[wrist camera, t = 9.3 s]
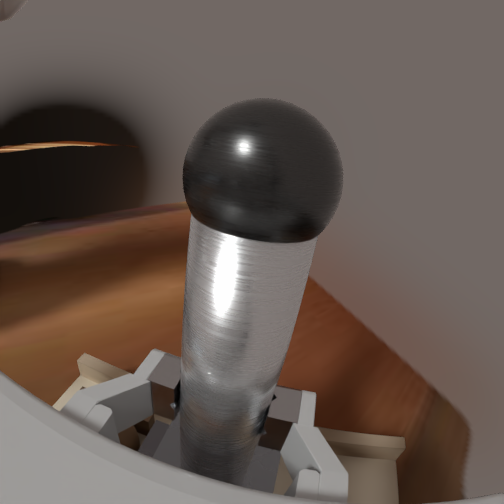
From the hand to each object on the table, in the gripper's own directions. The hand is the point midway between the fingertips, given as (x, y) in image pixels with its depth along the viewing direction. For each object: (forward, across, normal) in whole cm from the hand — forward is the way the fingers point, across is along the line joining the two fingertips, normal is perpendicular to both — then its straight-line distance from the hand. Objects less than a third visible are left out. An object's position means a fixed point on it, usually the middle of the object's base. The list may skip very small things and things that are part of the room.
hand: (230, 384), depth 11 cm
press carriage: (-1, 0, +9) cm, 9 cm away
